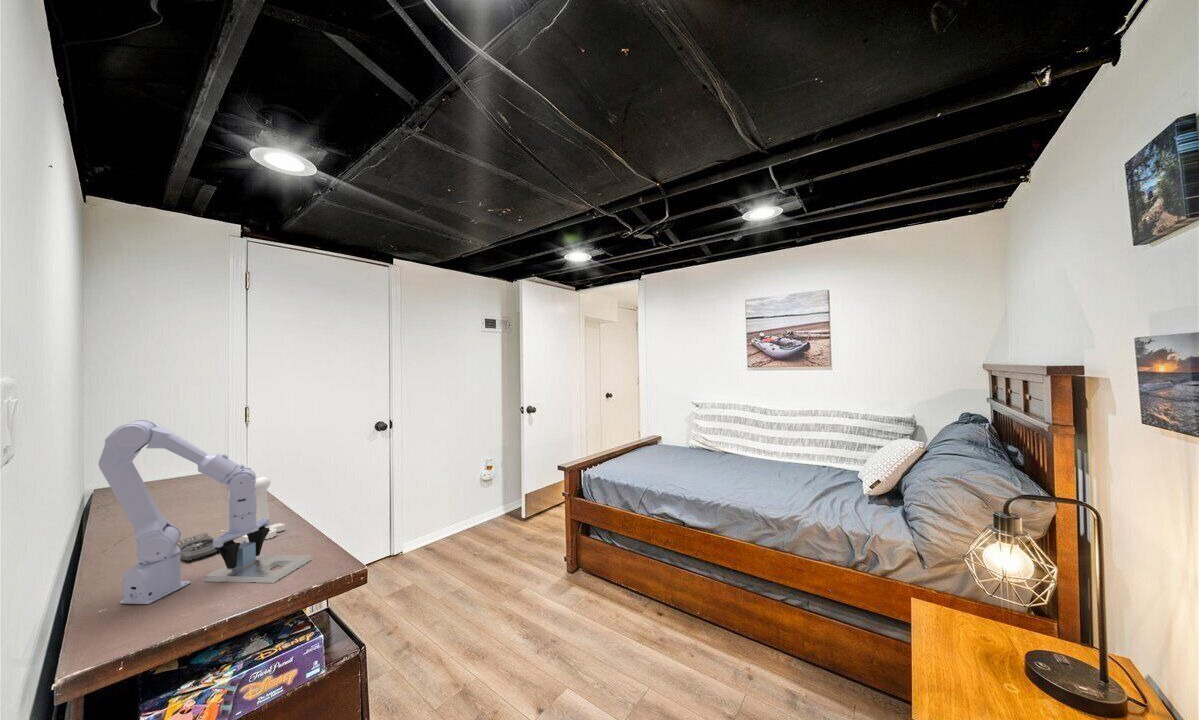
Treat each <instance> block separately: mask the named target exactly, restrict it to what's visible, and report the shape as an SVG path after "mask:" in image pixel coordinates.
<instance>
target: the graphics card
mask: <svg viewBox="0 0 1199 720" xmlns="http://www.w3.org/2000/svg"><path fill="white" fill-rule="evenodd" d="M208 533H209V532H203V533H200V534H196V535H193V536H190V537H186V538H183V539H179V540H178V542H177V543H176V544H175V545H176V546H177V547H178V548H179V549H180V559H181V560H182V561H186V560H187V562H189V560H190V561H193V560H195V559H199V558H201V557H209V555H210V556H213V555H212V554H214V552H215V553H218V552H217V550H216V549H215V547H213V540H214V539H215V538H213V537H212V536H209V534H208ZM179 543H180V544H179ZM207 555H208V556H207ZM192 559H193V560H192Z"/></svg>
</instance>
